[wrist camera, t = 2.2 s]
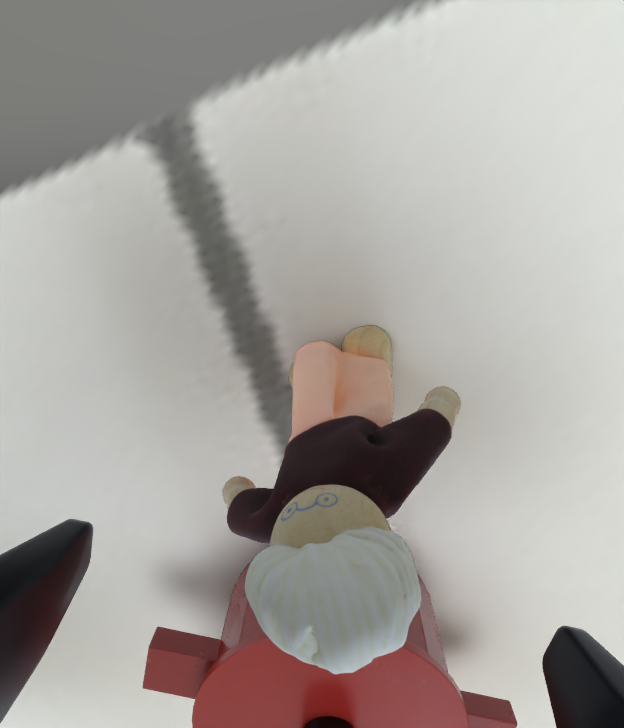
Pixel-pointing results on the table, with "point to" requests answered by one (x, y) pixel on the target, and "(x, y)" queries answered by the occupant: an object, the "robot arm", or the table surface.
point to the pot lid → (326, 692)
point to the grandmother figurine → (340, 507)
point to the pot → (198, 653)
